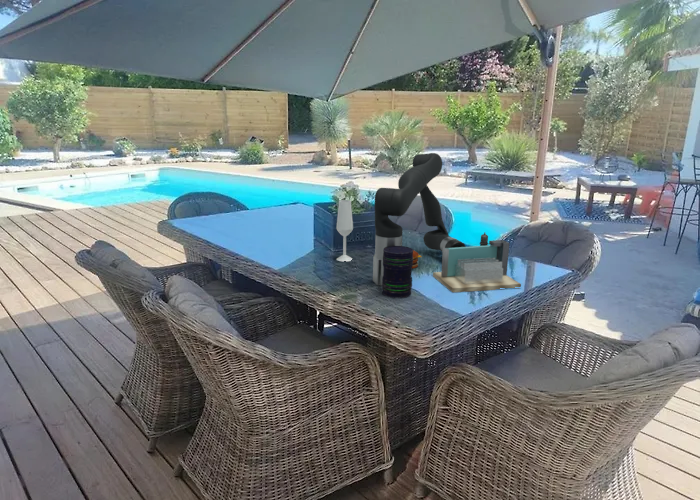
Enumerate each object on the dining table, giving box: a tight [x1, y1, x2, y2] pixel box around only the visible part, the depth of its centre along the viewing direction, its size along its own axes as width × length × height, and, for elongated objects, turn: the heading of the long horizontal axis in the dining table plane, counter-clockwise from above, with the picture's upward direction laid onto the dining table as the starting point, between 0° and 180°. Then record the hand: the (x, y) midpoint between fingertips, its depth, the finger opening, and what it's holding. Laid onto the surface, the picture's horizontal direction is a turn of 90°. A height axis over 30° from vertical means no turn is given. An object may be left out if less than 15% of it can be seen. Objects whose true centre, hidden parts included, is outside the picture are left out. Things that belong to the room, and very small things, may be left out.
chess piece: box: [479, 232, 490, 246], centre depth 206 cm, size 6×6×12 cm
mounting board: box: [432, 271, 522, 293], centre depth 181 cm, size 25×18×2 cm
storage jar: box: [381, 245, 414, 299], centre depth 167 cm, size 10×10×15 cm
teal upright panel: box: [440, 244, 497, 277], centre depth 183 cm, size 21×2×10 cm, turn 106°
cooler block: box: [455, 239, 510, 284], centre depth 179 cm, size 20×12×12 cm, turn 102°
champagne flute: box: [335, 199, 354, 262], centre depth 205 cm, size 7×7×24 cm
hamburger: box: [412, 249, 423, 269], centre depth 199 cm, size 9×10×7 cm
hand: (473, 260), depth 184 cm, fingers closed
